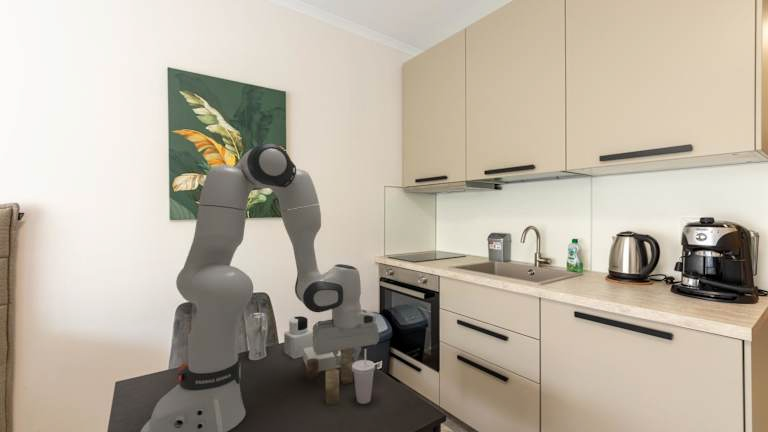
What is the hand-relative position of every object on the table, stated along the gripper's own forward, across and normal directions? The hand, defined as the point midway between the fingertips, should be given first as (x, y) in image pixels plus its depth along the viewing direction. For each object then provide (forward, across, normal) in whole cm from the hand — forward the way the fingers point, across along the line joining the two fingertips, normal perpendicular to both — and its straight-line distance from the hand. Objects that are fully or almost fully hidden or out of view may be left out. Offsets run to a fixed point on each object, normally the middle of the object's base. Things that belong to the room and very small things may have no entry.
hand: (346, 362), depth 102 cm
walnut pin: (+6, -9, +7) cm, 13 cm away
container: (+6, -10, +27) cm, 29 cm away
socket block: (+6, -4, +15) cm, 17 cm away
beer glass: (+6, -24, +30) cm, 39 cm away
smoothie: (+6, +1, -12) cm, 13 cm away
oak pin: (+6, -7, -9) cm, 13 cm away
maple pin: (+6, 0, 0) cm, 6 cm away
